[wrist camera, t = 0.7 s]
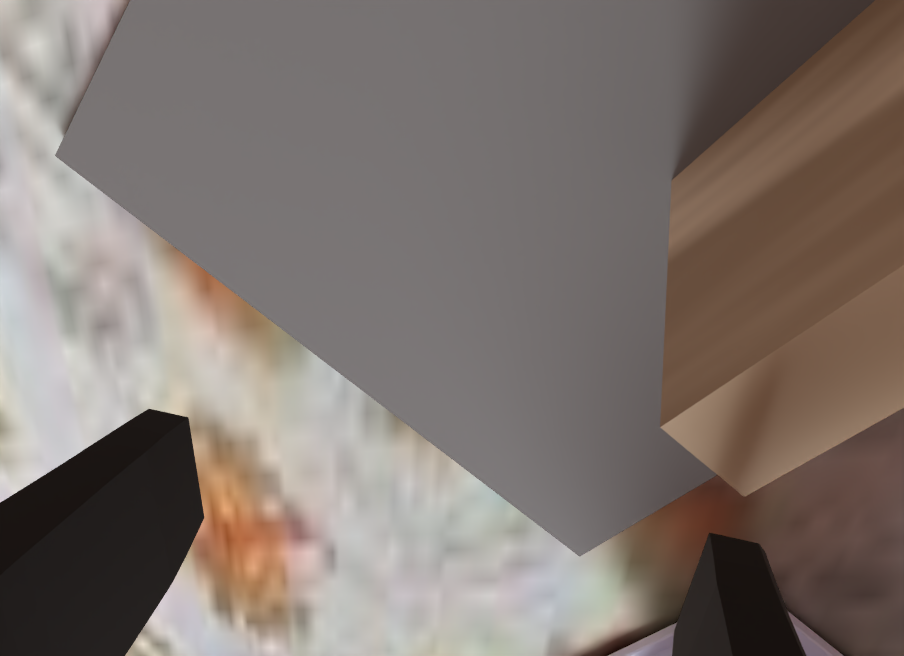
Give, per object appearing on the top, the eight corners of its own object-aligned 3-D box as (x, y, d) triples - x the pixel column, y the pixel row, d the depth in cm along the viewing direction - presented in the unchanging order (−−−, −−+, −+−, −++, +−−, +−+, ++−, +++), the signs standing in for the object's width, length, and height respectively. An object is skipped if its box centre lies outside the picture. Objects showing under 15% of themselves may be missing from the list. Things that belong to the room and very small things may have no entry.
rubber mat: (1604, -74, 12) (1634, -68, 12) (581, 543, 25) (579, 556, 24) (776, -1293, 9) (780, -1344, 8) (67, 148, 21) (55, 155, 21)
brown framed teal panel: (1004, 15, 14) (1263, 221, 8) (729, 233, 18) (751, 503, 11) (939, -57, 14) (1154, 98, 7) (671, 180, 17) (660, 427, 11)
